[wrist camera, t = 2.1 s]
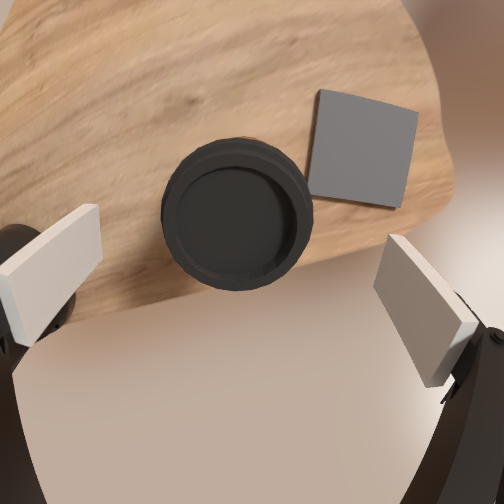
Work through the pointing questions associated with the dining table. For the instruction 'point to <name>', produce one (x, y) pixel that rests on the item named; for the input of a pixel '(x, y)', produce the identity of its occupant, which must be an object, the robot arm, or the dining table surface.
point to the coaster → (361, 149)
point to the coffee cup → (237, 214)
